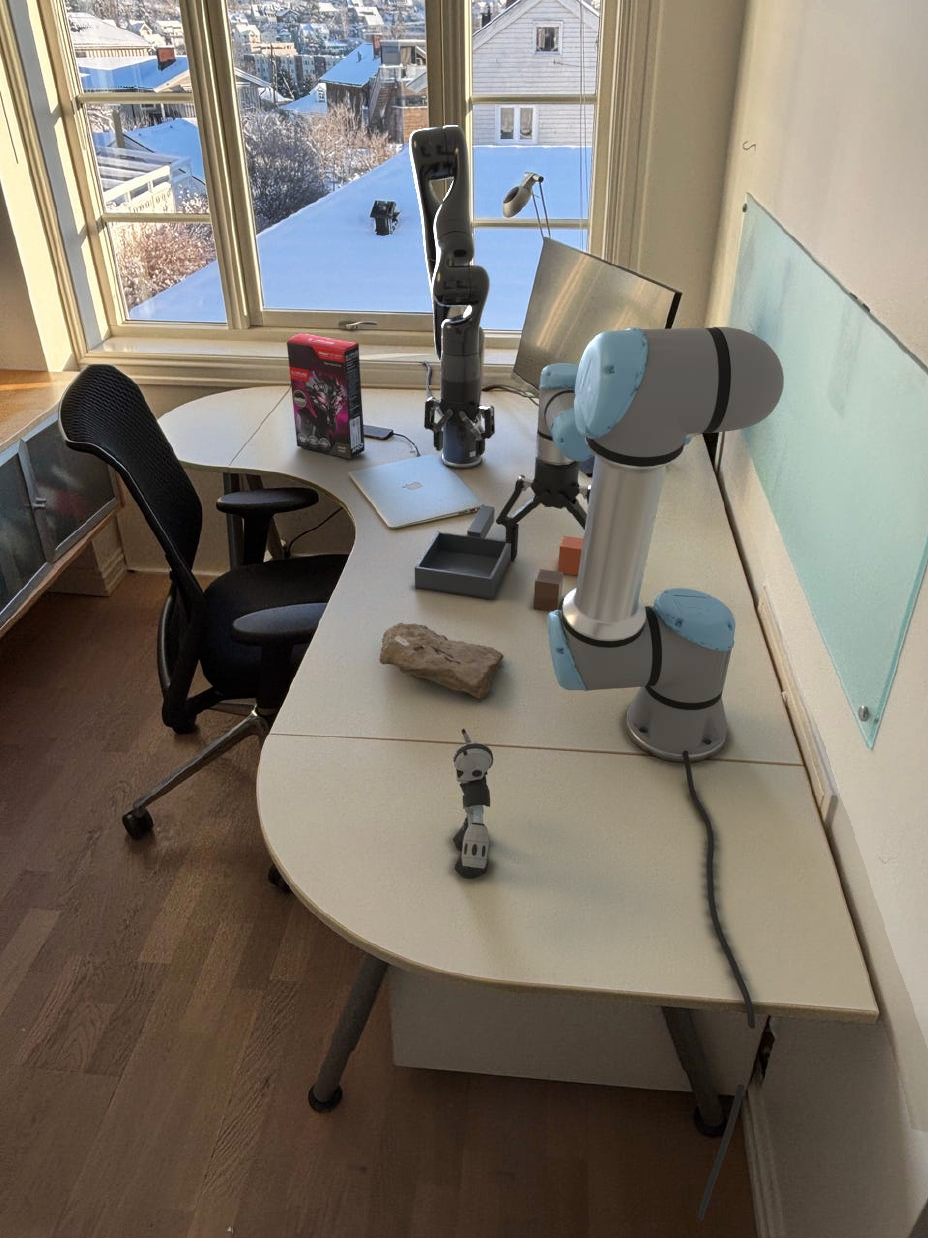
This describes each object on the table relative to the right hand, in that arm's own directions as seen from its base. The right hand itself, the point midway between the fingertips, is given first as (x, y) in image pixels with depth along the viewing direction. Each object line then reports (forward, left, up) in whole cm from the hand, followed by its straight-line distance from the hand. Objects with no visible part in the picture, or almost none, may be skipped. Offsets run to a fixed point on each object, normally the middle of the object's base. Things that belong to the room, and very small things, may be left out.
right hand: (549, 563), depth 169 cm
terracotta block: (+14, -2, -9) cm, 16 cm away
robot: (-63, -2, -9) cm, 64 cm away
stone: (-26, +14, -9) cm, 31 cm away
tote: (+12, +18, -9) cm, 23 cm away
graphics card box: (+55, +66, -9) cm, 86 cm away
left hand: (+23, +24, +9) cm, 34 cm away
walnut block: (0, 0, -9) cm, 9 cm away
